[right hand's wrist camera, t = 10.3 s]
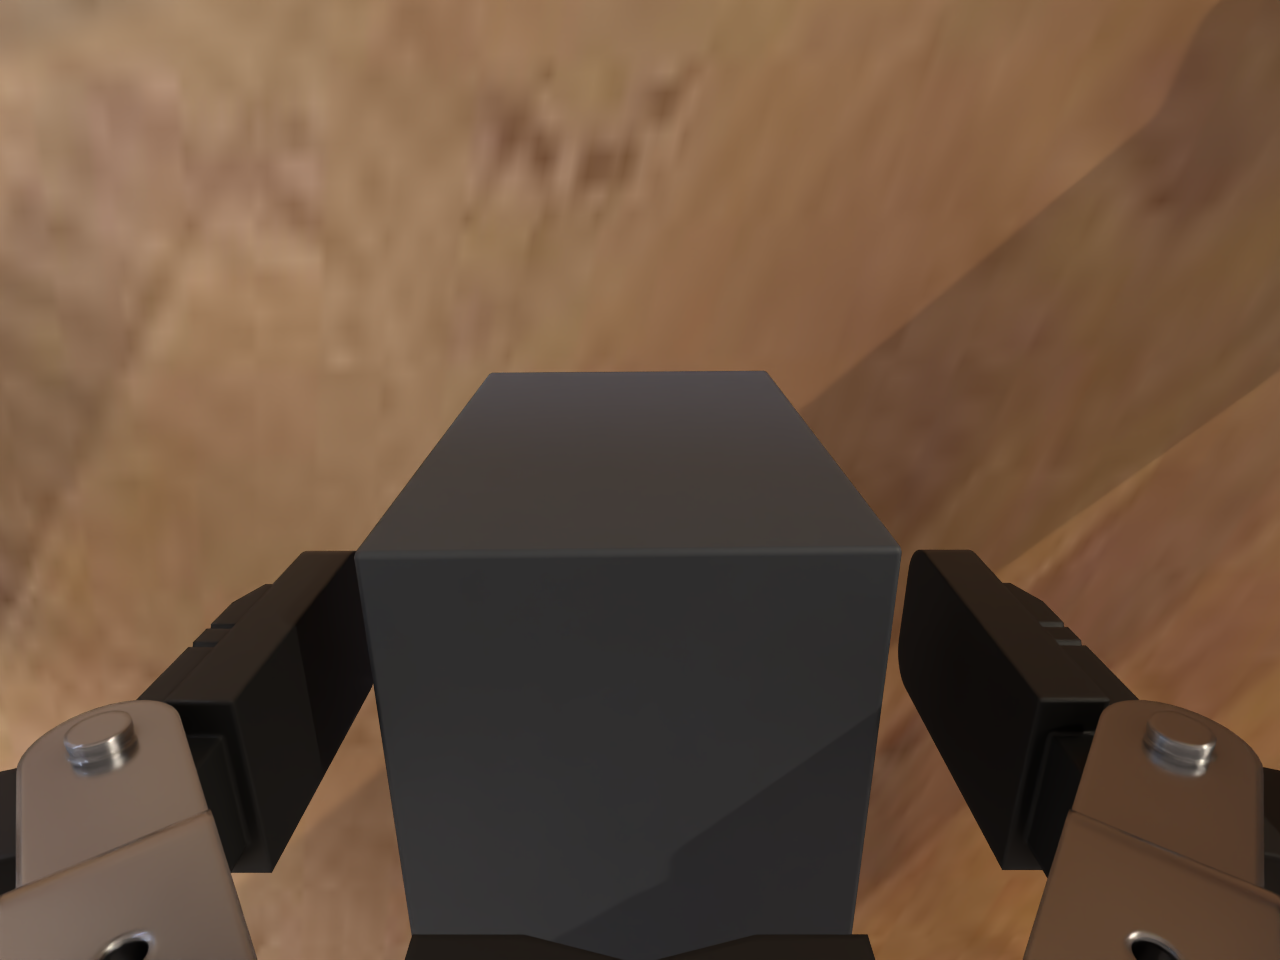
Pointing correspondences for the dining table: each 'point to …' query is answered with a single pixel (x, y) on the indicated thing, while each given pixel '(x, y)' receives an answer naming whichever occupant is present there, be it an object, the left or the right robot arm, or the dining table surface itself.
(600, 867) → the bar
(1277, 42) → the dining table surface
